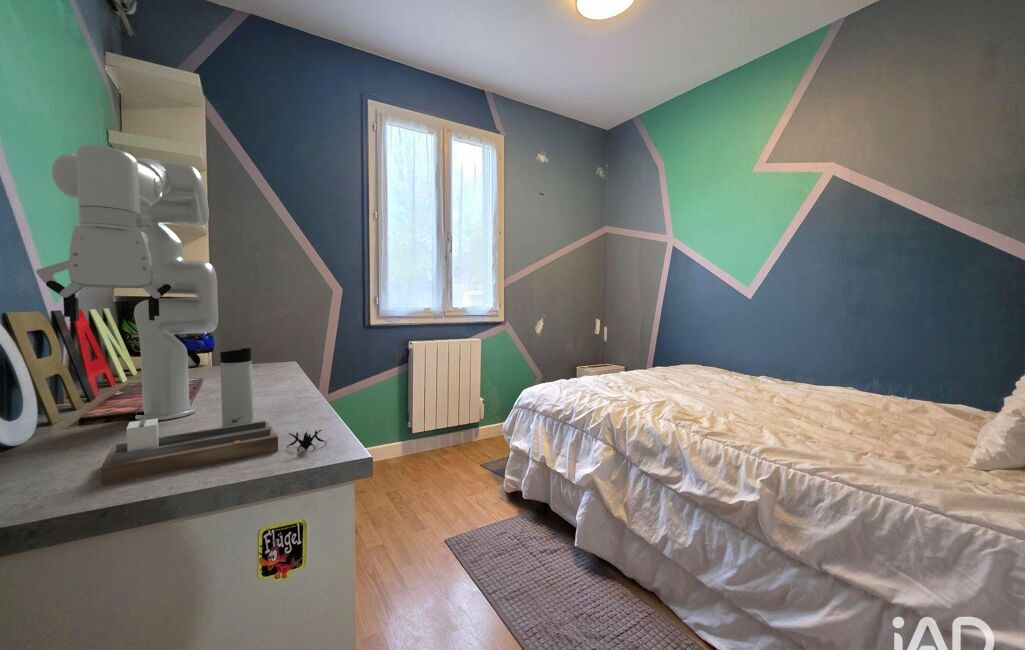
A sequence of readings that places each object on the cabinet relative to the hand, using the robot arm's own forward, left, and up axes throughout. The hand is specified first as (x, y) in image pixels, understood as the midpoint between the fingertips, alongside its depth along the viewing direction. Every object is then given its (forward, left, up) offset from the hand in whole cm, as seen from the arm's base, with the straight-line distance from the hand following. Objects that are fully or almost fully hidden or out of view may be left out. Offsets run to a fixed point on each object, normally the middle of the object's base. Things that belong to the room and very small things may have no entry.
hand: (115, 320), depth 70 cm
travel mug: (-18, +19, -28) cm, 38 cm away
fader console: (-2, +11, -28) cm, 30 cm away
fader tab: (-2, +3, -24) cm, 25 cm away
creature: (+6, +29, -28) cm, 41 cm away
